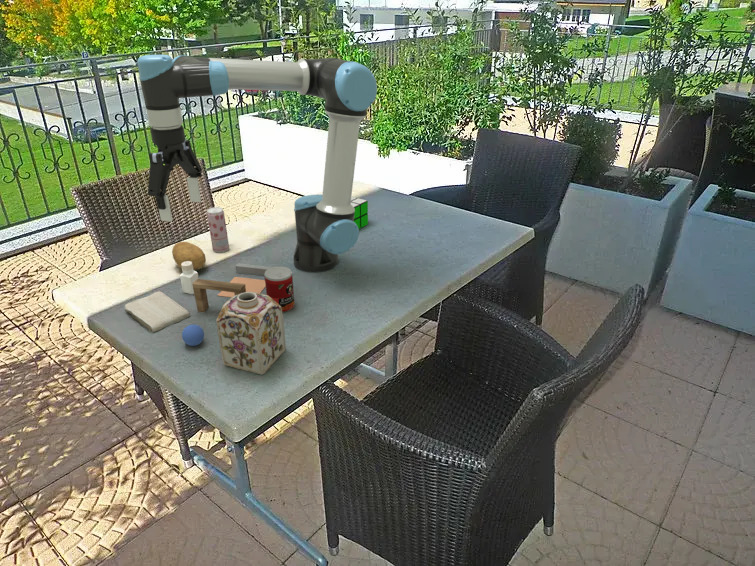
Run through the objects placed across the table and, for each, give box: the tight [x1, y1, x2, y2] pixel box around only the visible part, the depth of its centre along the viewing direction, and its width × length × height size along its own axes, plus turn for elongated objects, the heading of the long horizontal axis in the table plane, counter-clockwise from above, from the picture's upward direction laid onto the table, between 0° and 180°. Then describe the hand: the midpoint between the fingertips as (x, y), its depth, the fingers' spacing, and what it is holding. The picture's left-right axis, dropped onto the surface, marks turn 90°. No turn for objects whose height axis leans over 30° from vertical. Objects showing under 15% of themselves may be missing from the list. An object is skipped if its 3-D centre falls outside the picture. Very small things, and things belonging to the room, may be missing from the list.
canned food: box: [264, 266, 296, 313], centre depth 155 cm, size 8×8×11 cm
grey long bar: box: [234, 262, 273, 277], centre depth 175 cm, size 14×2×2 cm, turn 77°
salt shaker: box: [179, 261, 200, 295], centre depth 163 cm, size 4×4×10 cm
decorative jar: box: [215, 292, 287, 376], centre depth 132 cm, size 12×12×18 cm
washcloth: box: [124, 291, 191, 333], centre depth 154 cm, size 12×18×3 cm, turn 48°
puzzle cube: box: [351, 196, 369, 230], centre depth 208 cm, size 10×10×10 cm
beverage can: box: [206, 206, 230, 254], centre depth 188 cm, size 6×6×15 cm
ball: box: [181, 324, 205, 347], centre depth 140 cm, size 6×6×6 cm
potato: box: [171, 241, 207, 271], centre depth 177 cm, size 10×14×8 cm
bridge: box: [192, 278, 246, 313], centre depth 153 cm, size 3×14×9 cm, turn 77°
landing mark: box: [217, 276, 266, 298], centre depth 167 cm, size 12×12×1 cm
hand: (182, 210), depth 138 cm, fingers open, 13 cm apart
